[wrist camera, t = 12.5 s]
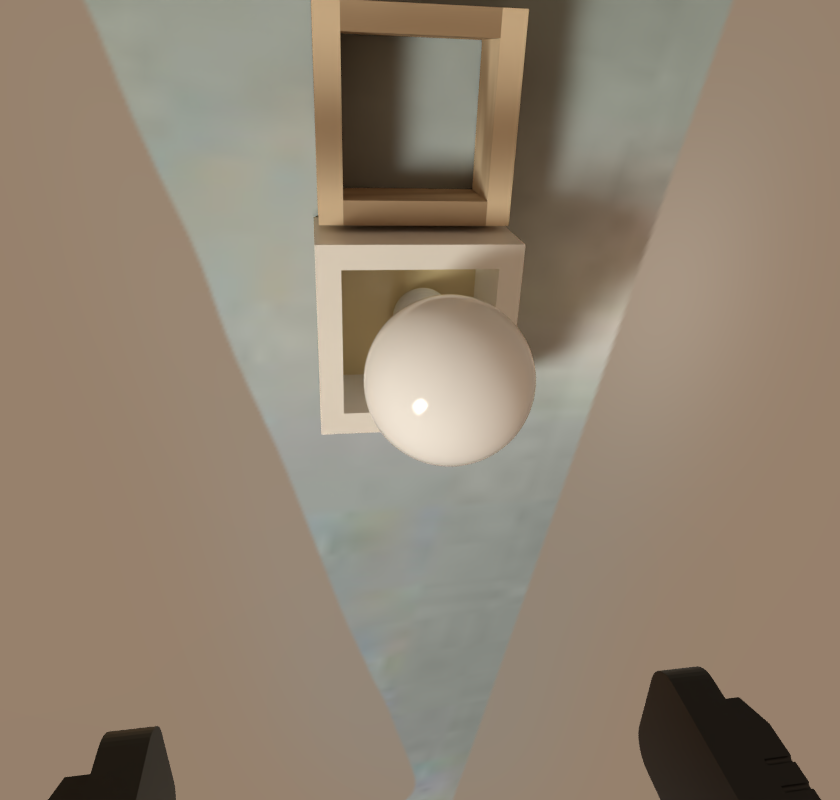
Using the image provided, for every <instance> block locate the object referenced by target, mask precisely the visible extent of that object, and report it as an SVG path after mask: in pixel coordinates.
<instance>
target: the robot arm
mask: <svg viewBox="0 0 840 800" xmlns="http://www.w3.org/2000/svg"><path fill="white" fill-rule="evenodd" d="M639 745H640V751H641V755H642V758H643V762H644V765H645V767H646V769H647V771H648V774H649V776H650V778H651V780H652V782H653V784H654V787H655V789H656V791H657V793H658V795H659V797H660V800H821V799H820V798H819V796H818V795H817V793H816V792H815V790H814V789H811V788H810V786H809V781H808V780H807V778H806V777H805V776H804V774H803V773H802V771H801V770H800V768H799V767H798V765H797V764H796V762H792V760H791V755H790V753H789V752H788V750H787V749H786V748H785V746H784V745H783V743H782V742H781V740H780V739H779V737H778V736H777V734H776V733H775V731H774V730H773V728H772V727H771V725H770V724H769V723H768V722H767V721H766V720H765V719H763V718H762V717H761V716H760V715H759V714H758V713H756V712H755V711H754V710H753V709H752V708H751V707H749V706H748V705H747V704H746V703H745V702H744V701H742V700H741V699H740V698H738V697H737V698H729V699H725V697H724V696H723V694H722V693H721V691H720V690H719V688H718V686H717V685H716V683H715V682H714V680H713V679H712V677H711V676H710V674H709V673H708V672H707V671H706V670H704V669H703V668H701V667H689V668H681V669H672V670H663V671H657V672H655V673H654V675H653V677H652V680H651V684H650V688H649V692H648V696H647V699H646V703H645V707H644V711H643V714H642V718H641V722H640V726H639ZM48 800H176V794H175V785H174V781H173V776H172V772H171V768H170V764H169V760H168V757H167V753H166V748H165V744H164V740H163V736H162V732H161V730H160V728H159V727H158V726H155V727H147V728H137V729H129V730H120V731H111V732H107V733H106V734H105V735H104V736H103V738H102V740H101V742H100V745H99V748H98V751H97V755H96V758H95V761H94V764H93V768H92V771H91V774H89V775H81V776H72V777H65V778H64V779H63V780H62V782H61V783H60V784H59V786H58V787H57V788H56V790H55V791H54V793H53V794H52V795H51V797H50V798H49V799H48Z"/></svg>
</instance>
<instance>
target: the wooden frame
mask: <svg viewBox="0 0 840 800" xmlns="http://www.w3.org/2000/svg"><path fill="white" fill-rule="evenodd" d="M528 15H529V9H522V8H503V7H483V6H464V5H445V4H426V3H406V2H387V1H368V0H311V19H312V48H313V78H314V108H315V138H316V167H317V197H318V219H319V225H360V226H509V216H510V205H511V194H512V184H513V173H514V163H515V152H516V142H517V131H518V120H519V110H520V99H521V89H522V78H523V68H524V57H525V46H526V36H527V25H528ZM340 34H361V35H384V36H406V37H429V38H451V39H474V40H482V51H481V66H480V81H479V95H478V110H477V125H476V139H475V154H474V169H473V183H472V189H427V188H343V168H342V109H341V49H340Z"/></svg>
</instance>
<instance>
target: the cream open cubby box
mask: <svg viewBox="0 0 840 800" xmlns="http://www.w3.org/2000/svg"><path fill="white" fill-rule="evenodd" d="M314 243H315V270H316V297H317V325H318V352H319V379H320V406H321V433H322V434H346V433H369V432H380V430H379V429H378V427H377V426H376V424H375V423H374V421H373V419H372V417H371V414H370V412H369V409H368V406H367V403H366V399H365V393H364V368H365V362H366V358H367V355H368V352H369V349H370V347H371V344H372V342H373V340H374V338H375V337H376V335H377V333H378V332H379V330H380V329H381V328H382V326H383V325H384V324H385V323H386V322H387V321H388V320H389V319H390V318H391V317H392V316H393V311H394V308H395V305H396V303H397V301H398V300H399V299H400V298H401V297H402V296H403V295H404V294H405V293H407V292H408V291H410V290H413V289H416V288H429V289H433V290H435V291H437V292H438V293H440V294H441V295H442V294H458V295H465V296H470V297H474V298H477V299H480V300H482V301H485V302H487V303H489V304H491V305H493V306H494V307H496V308H497V309H499V310H500V311H502V312H503V313H504V314H505V315H507V316H508V317H509V318H510V319H511V320H512V321H513V322H514V323H515V325H516V326H517V321H518V312H519V302H520V293H521V284H522V275H523V265H524V256H525V247H526V244H524V243H523V242H522V241H521V240H520V239H519V238H518V237H516V236H515V235H514V234H513V233H512V232H511V231H510V230H508V229H507V228H506V227H505V226H360V225H319V219H318V217H314Z"/></svg>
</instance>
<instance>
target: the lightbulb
mask: <svg viewBox="0 0 840 800" xmlns="http://www.w3.org/2000/svg"><path fill="white" fill-rule="evenodd" d="M535 388H536V371H535V364H534V360H533V356H532V353H531V350H530V347H529V345H528V343H527V341H526V339H525V337H524V336H523V334H522V333H521V331H520V330H519V328H518V327H517V326H516V325H515V323H514V322H513V321H512V320H511V319H510V318H509V317H508V316H507V315H505V314H504V313H503V312H502V311H500V310H499V309H497V308H496V307H494V306H493V305H491V304H489V303H487V302H485V301H482V300H480V299H477V298H474V297H470V296H465V295H458V294H442V295H441V294H440V293H438V292H437V291H435V290H433V289H429V288H416V289H413V290H410V291H408V292H407V293H405V294H404V295H403V296H402V297H401V298H400V299H399V300H398V301H397V303H396V305H395V308H394V311H393V316H392V317H391V318H390V319H389V320H388V321H387V322H386V323H385V324H384V325H383V326H382V328H381V329H380V330H379V332H378V333H377V335H376V337H375V338H374V340H373V342H372V344H371V347H370V349H369V352H368V355H367V358H366V362H365V368H364V393H365V399H366V403H367V406H368V409H369V412H370V414H371V417H372V419H373V421H374V423H375V424H376V426H377V427H378V429H379V430H380V432H381V433H382V434H383V436H384V437H385V438H386V439H387V440H388V441H389V442H390V443H391V444H392V445H393V446H395V447H396V448H397V449H398V450H400V451H401V452H403V453H404V454H406V455H408V456H410V457H411V458H414V459H416V460H418V461H421V462H424V463H427V464H432V465H437V466H463V465H468V464H472V463H475V462H478V461H481V460H484V459H486V458H488V457H490V456H492V455H493V454H495V453H497V452H498V451H500V450H501V449H502V448H504V447H505V446H506V445H507V444H508V443H509V442H510V441H511V440H512V439H513V438H514V437H515V436H516V435H517V433H518V432H519V431H520V429H521V428H522V426H523V425H524V423H525V421H526V419H527V417H528V415H529V413H530V410H531V407H532V404H533V400H534V395H535Z"/></svg>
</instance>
